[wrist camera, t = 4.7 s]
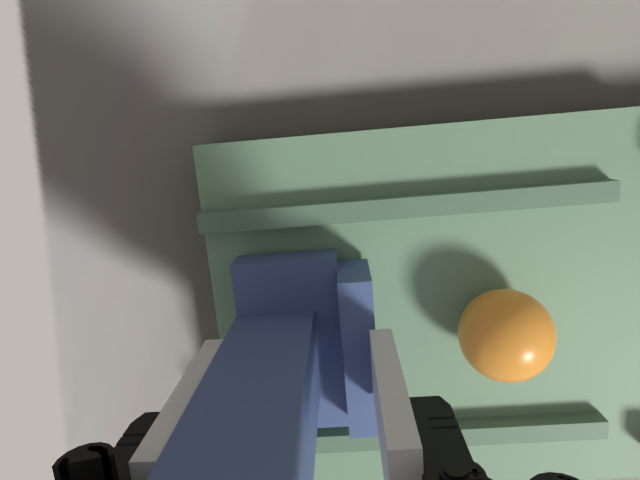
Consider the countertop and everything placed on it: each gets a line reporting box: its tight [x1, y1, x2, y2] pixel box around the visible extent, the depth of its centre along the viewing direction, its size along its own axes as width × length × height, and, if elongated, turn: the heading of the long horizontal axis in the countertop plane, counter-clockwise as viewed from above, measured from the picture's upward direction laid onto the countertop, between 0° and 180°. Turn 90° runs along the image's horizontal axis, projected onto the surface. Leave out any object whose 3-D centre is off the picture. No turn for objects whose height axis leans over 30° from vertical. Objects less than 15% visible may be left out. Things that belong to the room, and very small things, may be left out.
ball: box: [458, 289, 557, 383], centre depth 19 cm, size 4×4×4 cm
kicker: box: [146, 249, 378, 480], centre depth 14 cm, size 7×5×14 cm
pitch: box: [192, 106, 640, 480], centre depth 21 cm, size 16×18×3 cm
